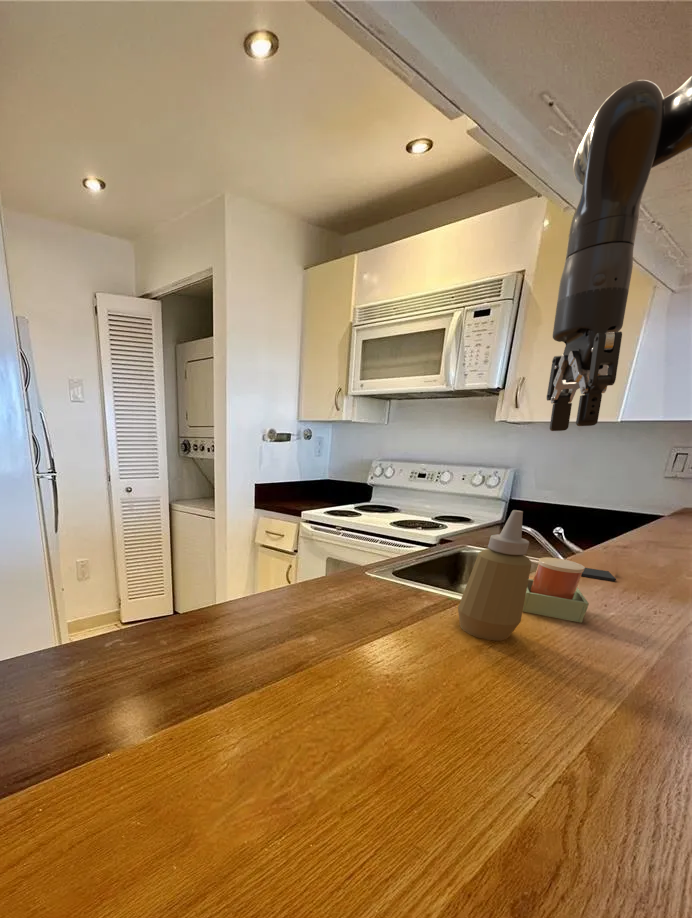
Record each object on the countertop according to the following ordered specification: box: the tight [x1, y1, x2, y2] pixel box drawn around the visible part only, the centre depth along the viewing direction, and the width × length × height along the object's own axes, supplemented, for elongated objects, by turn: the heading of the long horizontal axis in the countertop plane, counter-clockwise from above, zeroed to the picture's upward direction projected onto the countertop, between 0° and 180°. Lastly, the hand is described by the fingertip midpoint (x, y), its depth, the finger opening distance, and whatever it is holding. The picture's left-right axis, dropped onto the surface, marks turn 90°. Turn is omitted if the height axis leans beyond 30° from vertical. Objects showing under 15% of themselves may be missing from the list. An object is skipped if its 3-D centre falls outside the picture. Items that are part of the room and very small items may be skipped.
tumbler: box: [530, 556, 586, 600], centre depth 76 cm, size 6×6×8 cm
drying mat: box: [581, 567, 617, 582], centre depth 101 cm, size 7×6×1 cm
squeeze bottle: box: [457, 509, 532, 642], centre depth 64 cm, size 8×8×18 cm
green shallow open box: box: [522, 578, 590, 623], centre depth 77 cm, size 8×8×4 cm
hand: (571, 428), depth 65 cm, fingers open, 8 cm apart
